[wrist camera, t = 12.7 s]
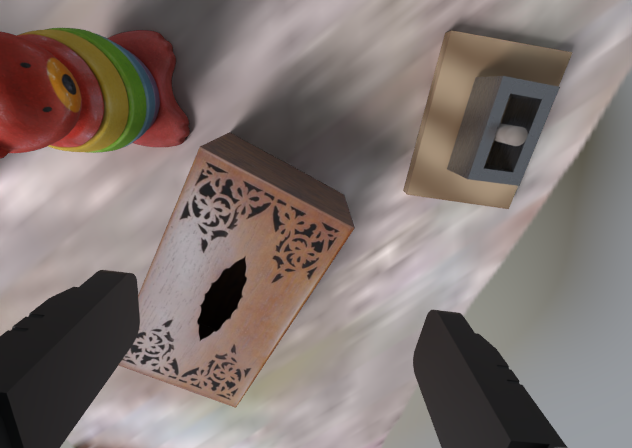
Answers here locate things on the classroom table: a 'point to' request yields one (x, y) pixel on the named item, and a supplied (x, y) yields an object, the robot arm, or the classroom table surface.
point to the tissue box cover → (234, 269)
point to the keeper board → (449, 106)
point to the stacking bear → (87, 91)
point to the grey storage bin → (484, 120)
